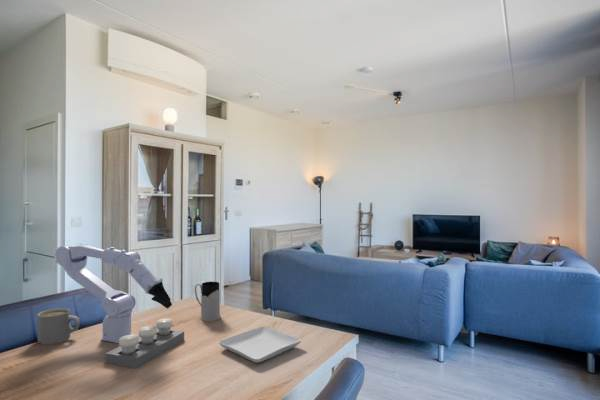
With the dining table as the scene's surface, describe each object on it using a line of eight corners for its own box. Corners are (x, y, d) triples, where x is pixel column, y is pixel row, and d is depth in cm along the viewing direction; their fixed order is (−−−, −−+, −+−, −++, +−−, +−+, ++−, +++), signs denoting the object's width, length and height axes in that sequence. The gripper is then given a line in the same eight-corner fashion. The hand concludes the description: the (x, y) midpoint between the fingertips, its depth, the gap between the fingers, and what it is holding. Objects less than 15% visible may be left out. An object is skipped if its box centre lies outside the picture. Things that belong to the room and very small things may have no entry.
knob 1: (115, 355, 115) (115, 340, 115) (128, 348, 121) (128, 333, 121) (129, 358, 114) (129, 342, 113) (142, 351, 119) (142, 335, 119)
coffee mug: (30, 344, 130) (30, 316, 130) (50, 333, 140) (50, 307, 140) (67, 344, 129) (67, 316, 129) (84, 334, 139) (84, 308, 139)
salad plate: (216, 350, 126) (216, 340, 126) (263, 333, 142) (263, 324, 142) (256, 370, 112) (256, 359, 112) (303, 349, 127) (303, 339, 127)
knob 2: (135, 345, 123) (135, 330, 123) (147, 339, 129) (147, 325, 129) (148, 347, 122) (148, 332, 122) (160, 341, 127) (160, 327, 127)
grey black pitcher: (209, 322, 153) (210, 287, 153) (187, 316, 161) (187, 282, 161) (224, 316, 160) (225, 282, 160) (202, 311, 168) (202, 278, 168)
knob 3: (152, 336, 131) (152, 322, 131) (163, 330, 137) (163, 317, 137) (165, 338, 130) (165, 324, 130) (175, 332, 135) (175, 319, 135)
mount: (105, 362, 116) (105, 353, 116) (157, 335, 138) (157, 327, 138) (135, 368, 112) (135, 358, 112) (184, 339, 135) (184, 331, 135)
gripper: (151, 264, 129) (177, 291, 126) (155, 275, 141) (179, 300, 139) (134, 277, 125) (160, 306, 123) (140, 288, 137) (163, 314, 135)
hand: (169, 304), depth 131 cm, fingers open, 7 cm apart
